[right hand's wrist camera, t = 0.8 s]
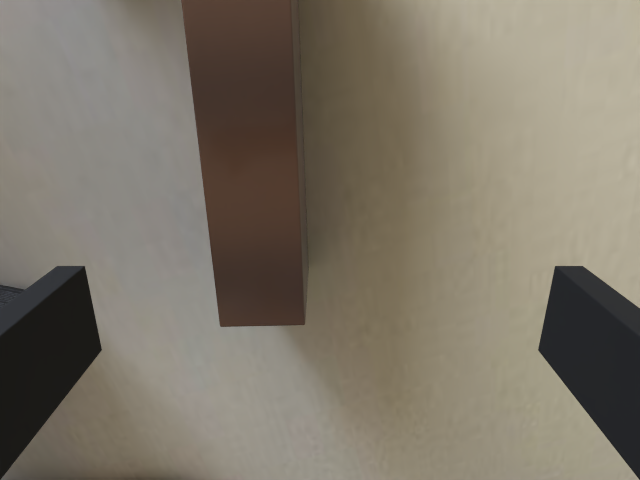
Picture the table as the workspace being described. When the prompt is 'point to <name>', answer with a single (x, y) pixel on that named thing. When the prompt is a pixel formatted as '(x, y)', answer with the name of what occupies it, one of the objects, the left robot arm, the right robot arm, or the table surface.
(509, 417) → the table surface
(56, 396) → the right robot arm
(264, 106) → the beam
